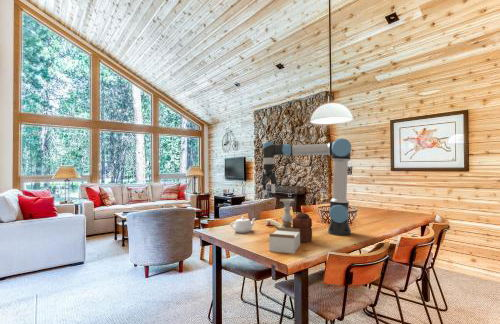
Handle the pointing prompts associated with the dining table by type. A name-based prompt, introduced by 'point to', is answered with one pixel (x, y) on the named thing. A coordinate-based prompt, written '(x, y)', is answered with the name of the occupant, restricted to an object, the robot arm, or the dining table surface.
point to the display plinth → (284, 240)
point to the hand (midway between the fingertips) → (269, 193)
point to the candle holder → (287, 213)
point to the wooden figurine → (303, 226)
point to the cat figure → (273, 223)
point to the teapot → (242, 225)
